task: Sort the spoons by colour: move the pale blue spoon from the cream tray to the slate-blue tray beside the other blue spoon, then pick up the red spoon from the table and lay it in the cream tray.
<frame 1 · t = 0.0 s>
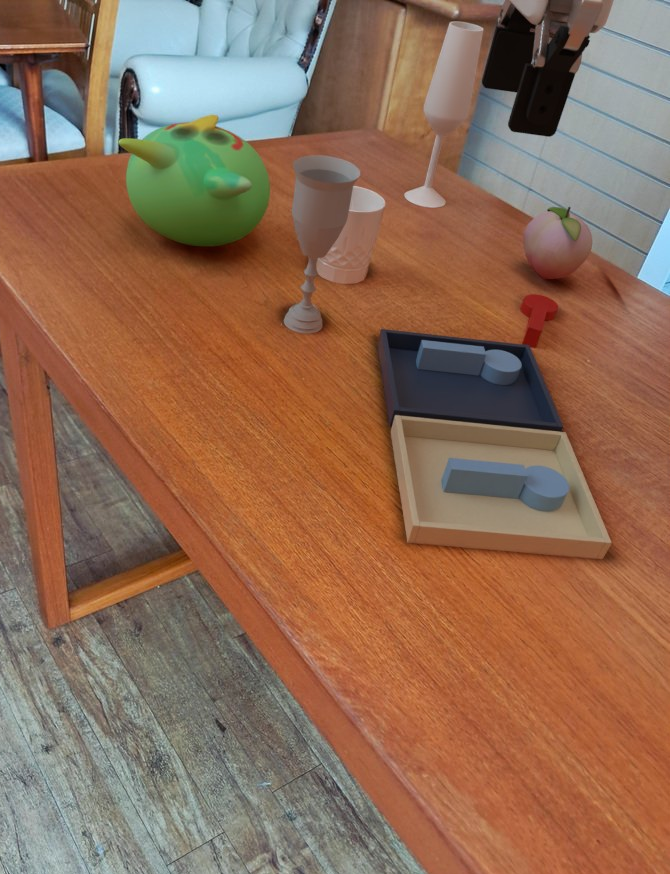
hand: (514, 109, 57), 31 cm above the table, tool pointing down, fingers open, 9 cm apart
champagne flute: (424, 199, 125), on the table
white cup: (339, 275, 102), on the table
blue tray: (460, 394, 85), on the table
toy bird: (195, 241, 104), on the table
chalice: (302, 327, 91), on the table
blue spoon a: (469, 371, 88), resting on blue tray
red spoon: (533, 326, 98), on the table
blue spoon b: (505, 492, 73), resting on cream tray
cream tray: (488, 494, 73), on the table
decorative fruit: (544, 279, 109), on the table
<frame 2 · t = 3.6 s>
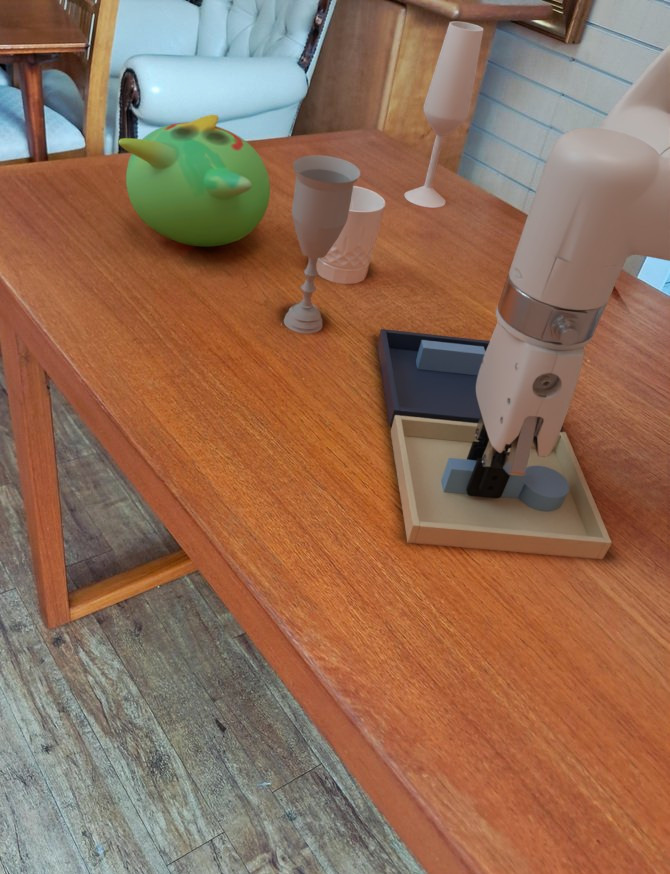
hand: (480, 485, 72), 1 cm above the table, tool pointing down, fingers closed on blue spoon b
blue spoon b: (505, 492, 73), point 1 cm above the table, touching cream tray, gripper
everything else where it was.
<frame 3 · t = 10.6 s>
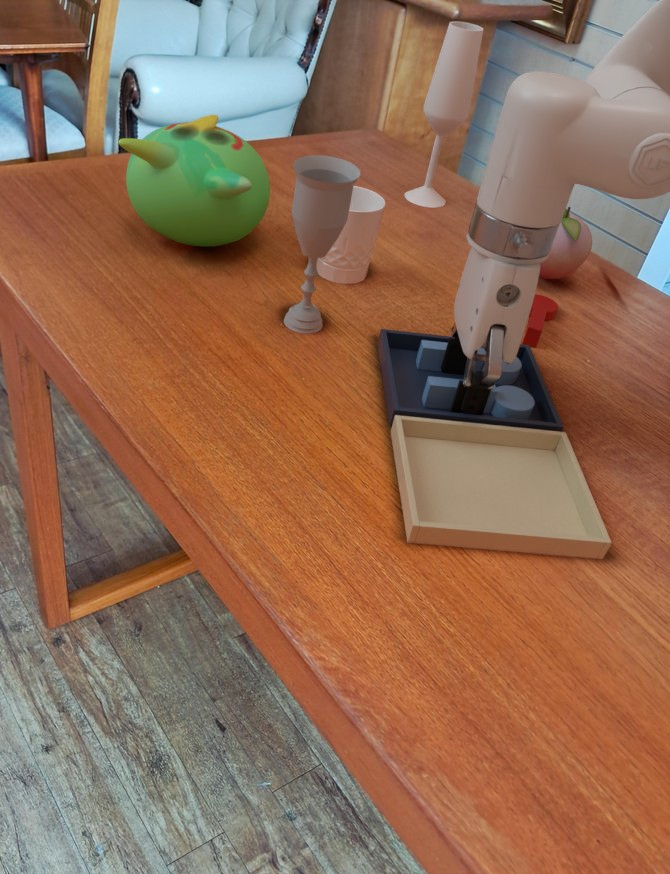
hand: (459, 392, 82), 2 cm above the table, tool pointing down, fingers open, 7 cm apart
blue spoon b: (478, 408, 82), resting on blue tray
everything else where it was.
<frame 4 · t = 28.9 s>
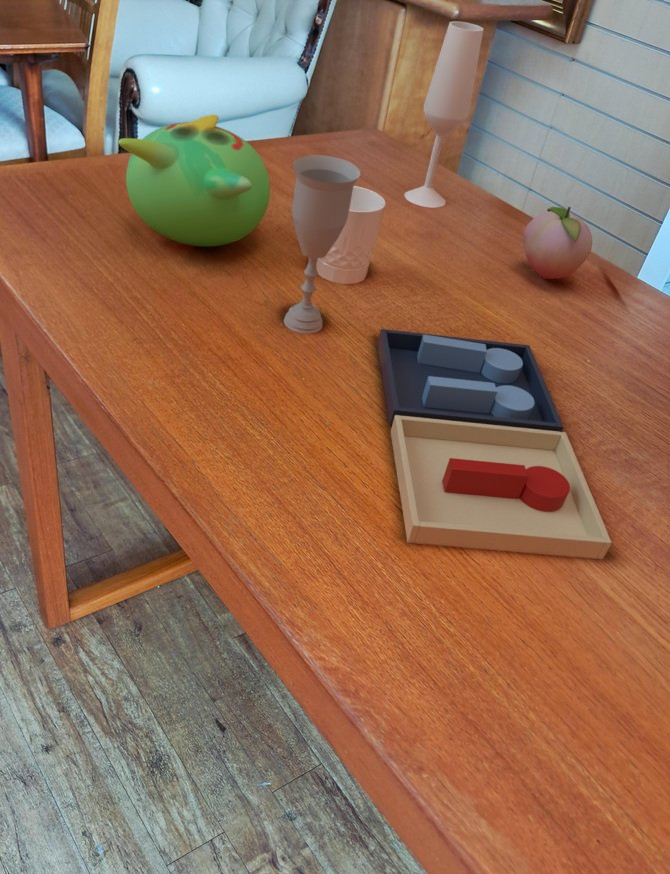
red spoon: (506, 492, 73), resting on cream tray
at the end: blue spoon b inside the target area in the blue tray (3.3 cm from its centre), point 0.5 cm above the blue tray's base; blue spoon a inside the target area in the blue tray (4.9 cm from its centre), point 0.5 cm above the blue tray's base; red spoon inside the target area in the cream tray (1.6 cm from its centre), point 0.5 cm above the cream tray's base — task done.
